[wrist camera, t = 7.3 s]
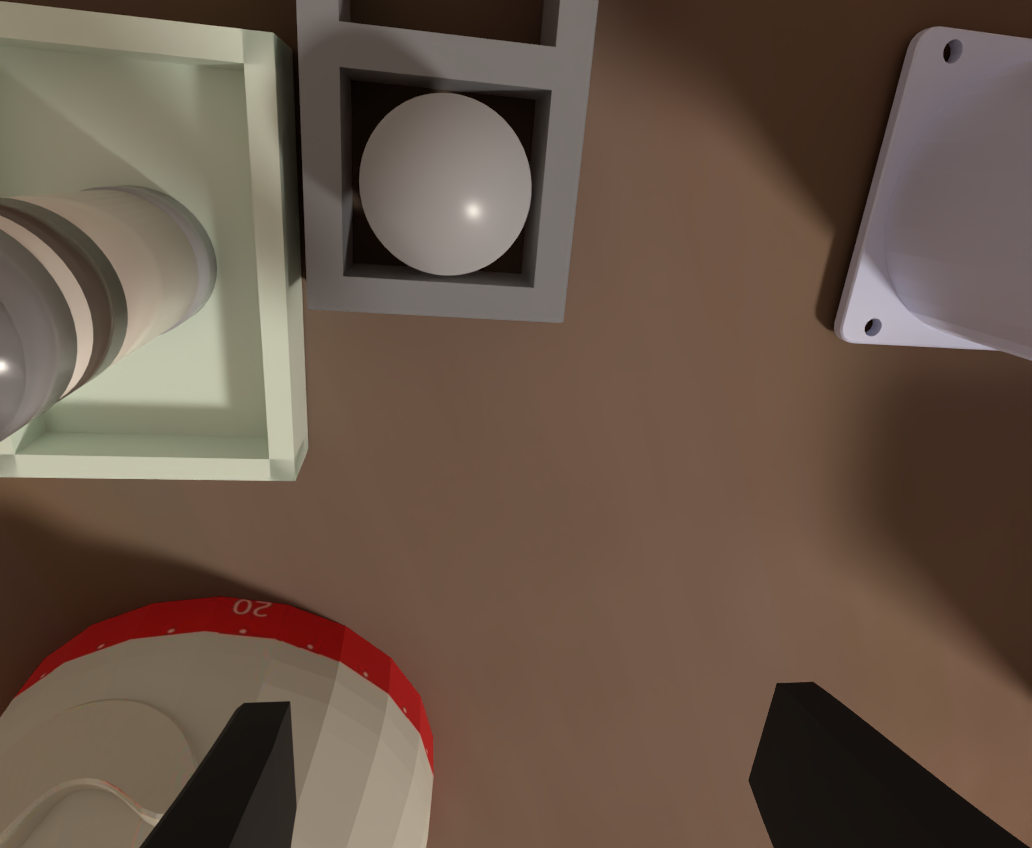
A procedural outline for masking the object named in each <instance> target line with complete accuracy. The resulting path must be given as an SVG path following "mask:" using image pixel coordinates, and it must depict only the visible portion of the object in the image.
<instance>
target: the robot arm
mask: <svg viewBox="0 0 1032 848" xmlns="http://www.w3.org/2000/svg"><path fill="white" fill-rule="evenodd" d="M946 44H949V46H950V48H951V55H950V57H949V59H948V61H947V62H945V60H944V58H943V50H944V48H945V46H946ZM871 319H872V320H873V325H872V327H871V329H870V330H869V331H867V332H865V325H866V324H867V322H868V321H870V320H871ZM834 331H835V334H836V336H837V337H838V338H840V339H841V340H844V341H846V342H850V343H861V344H881V345H900V346H919V347H939V348H958V349H978V350H997V351H1003V352H1006V353H1009V354H1012V355H1015V356H1019V357H1022V358H1025V359H1028V360H1031V361H1032V39H1029V38H1022V37H1015V36H1007V35H1000V34H993V33H986V32H978V31H971V30H964V29H956V28H949V27H942V26H938V27H931V28H928V29H924V30H922V31H921V32H919V33H917V34H916V35H915V37H914V38H913V39H912V40H911V42H910V44H909V46H908V49H907V52H906V56H905V60H904V64H903V67H902V71H901V75H900V79H899V82H898V86H897V90H896V94H895V97H894V101H893V105H892V109H891V112H890V116H889V120H888V124H887V127H886V131H885V135H884V139H883V143H882V146H881V150H880V154H879V158H878V161H877V165H876V169H875V173H874V176H873V180H872V184H871V188H870V191H869V195H868V199H867V203H866V206H865V210H864V214H863V218H862V221H861V225H860V229H859V233H858V236H857V240H856V244H855V248H854V251H853V255H852V259H851V263H850V266H849V270H848V274H847V278H846V281H845V285H844V289H843V293H842V297H841V300H840V304H839V308H838V312H837V315H836V319H835V323H834ZM749 783H750V786H751V789H752V791H753V794H754V797H755V800H756V803H757V805H758V808H759V811H760V814H761V816H762V819H763V822H764V824H765V827H766V829H767V832H768V834H769V837H770V839H771V842H772V844H773V847H774V848H1030V847H1028V846H1027V845H1026V844H1024V843H1023V842H1021V841H1020V840H1019V839H1017V838H1016V837H1014V836H1013V835H1012V834H1010V833H1009V832H1008V831H1006V830H1005V829H1003V828H1002V827H1001V826H999V825H998V824H997V823H995V822H994V821H993V820H991V819H990V818H989V817H987V816H986V815H985V814H983V813H982V812H981V811H979V810H978V809H977V808H975V807H974V806H973V805H972V804H970V803H969V802H968V801H966V800H965V799H964V798H962V797H961V796H960V795H958V794H957V793H956V792H955V791H953V790H952V789H951V788H949V787H948V786H947V785H945V784H944V783H943V782H942V781H940V780H939V779H938V778H936V777H935V776H934V775H933V774H931V773H930V772H929V771H927V770H926V769H925V768H924V767H922V766H921V765H920V764H919V763H917V762H916V761H915V760H913V759H912V758H911V757H910V756H908V755H907V754H906V753H905V752H903V751H902V750H901V749H900V748H898V747H897V746H896V745H894V744H893V743H892V742H891V741H889V740H888V739H887V738H886V737H884V736H883V735H882V734H881V733H879V732H878V731H877V730H876V729H874V728H873V727H872V726H870V725H869V724H868V723H867V722H865V721H864V720H863V719H862V718H860V717H859V716H858V715H856V714H855V713H854V712H853V711H851V710H850V709H849V708H848V707H846V706H845V705H844V704H842V703H841V702H840V701H838V700H837V699H836V698H834V697H833V696H832V695H831V694H829V693H828V692H826V691H825V690H824V689H822V688H821V687H820V686H818V685H817V684H815V683H814V682H799V683H777V685H776V688H775V692H774V695H773V698H772V702H771V705H770V709H769V712H768V715H767V719H766V722H765V726H764V729H763V732H762V736H761V739H760V743H759V746H758V749H757V753H756V756H755V760H754V763H753V766H752V770H751V773H750V777H749ZM296 810H297V803H296V787H295V770H294V754H293V737H292V721H291V704H290V701H279V702H252V703H243V704H242V705H241V706H239V707H238V708H237V709H236V710H235V711H234V713H233V715H232V716H231V718H230V719H229V721H228V723H227V724H226V726H225V727H224V729H223V730H222V732H221V733H220V735H219V736H218V738H217V739H216V741H215V743H214V744H213V746H212V747H211V749H210V750H209V752H208V753H207V755H206V756H205V757H204V759H203V760H202V762H201V763H200V765H199V766H198V768H197V769H196V771H195V772H194V773H193V775H192V776H191V778H190V779H189V780H188V782H187V783H186V785H185V786H184V788H183V789H182V790H181V792H180V793H179V795H178V796H177V797H176V799H175V800H174V802H173V803H172V804H171V806H170V807H169V808H168V810H167V811H166V812H165V814H164V815H163V816H162V818H161V819H160V820H159V822H158V823H157V824H156V826H155V827H154V828H153V830H152V831H151V833H150V834H149V835H148V837H147V838H146V839H145V841H144V842H143V843H142V845H141V846H140V847H139V848H291V843H292V836H293V829H294V823H295V816H296Z"/></svg>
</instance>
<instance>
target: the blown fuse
mask: <svg viewBox="0 0 1032 848" xmlns="http://www.w3.org/2000/svg"><path fill="white" fill-rule="evenodd" d="M216 278H217V261H216V255H215V251H214V248H213V245H212V242H211V240H210V238H209V236H208V234H207V232H206V230H205V229H204V227H203V226H202V224H201V223H200V222H199V220H198V219H197V218H196V217H195V215H194V214H192V213H191V212H190V211H189V210H188V209H187V208H186V207H185V206H184V205H182V204H181V203H180V202H178V201H177V200H175V199H173V198H172V197H170V196H168V195H166V194H164V193H162V192H160V191H157V190H154V189H151V188H146V187H142V186H132V185H125V186H109V187H95V188H90V189H84V190H81V191H77V192H64V193H52V194H39V195H26V196H14V197H0V442H1V441H2V440H4V439H6V438H7V437H9V436H10V435H12V434H13V433H15V432H16V431H18V430H19V429H21V428H22V427H24V426H25V425H27V424H29V423H30V422H32V421H33V420H35V419H36V418H38V417H39V416H41V415H42V414H43V413H45V412H46V411H48V410H49V409H50V408H51V407H52V406H53V405H54V404H55V403H57V402H59V401H60V400H62V399H63V398H65V397H66V396H68V395H69V394H71V393H72V392H74V391H76V390H77V389H79V388H80V387H82V386H83V385H85V384H86V383H88V382H89V381H91V380H93V379H94V378H95V377H97V376H98V375H100V374H101V373H102V372H104V371H105V370H106V369H107V368H109V367H111V366H112V365H114V364H115V363H117V362H118V361H120V360H121V359H123V358H125V357H126V356H128V355H129V354H131V353H132V352H134V351H135V350H137V349H139V348H140V347H142V346H143V345H145V344H146V343H148V342H149V341H151V340H153V339H154V338H156V337H157V336H159V335H161V334H164V333H166V332H168V331H170V330H172V329H174V328H176V327H177V326H179V325H180V324H182V323H183V322H185V321H186V320H188V319H189V318H191V317H192V316H194V315H195V314H196V313H198V312H199V311H200V310H201V309H202V308H203V307H204V305H205V304H206V303H207V301H208V300H209V298H210V296H211V294H212V292H213V289H214V287H215V283H216Z"/></svg>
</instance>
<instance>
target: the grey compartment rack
mask: <svg viewBox="0 0 1032 848" xmlns="http://www.w3.org/2000/svg"><path fill="white" fill-rule="evenodd" d="M598 2H599V0H544V5H543V17H542V29H541V41H540V45H534V44H526V43H518V42H509V41H501V40H493V39H484V38H476V37H467V36H459V35H451V34H442V33H434V32H426V31H417V30H409V29H401V28H392V27H384V26H375V25H367V24H359V23H350V0H296V9H297V36H298V63H299V90H300V117H301V144H302V171H303V198H304V225H305V252H306V279H307V306H308V309H309V310H328V311H347V312H366V313H385V314H404V315H423V316H441V317H460V318H479V319H498V320H517V321H536V322H555V323H563V320H564V311H565V302H566V293H567V284H568V275H569V265H570V256H571V247H572V238H573V229H574V220H575V211H576V202H577V193H578V184H579V175H580V165H581V156H582V147H583V138H584V129H585V120H586V111H587V102H588V93H589V84H590V74H591V65H592V56H593V47H594V38H595V29H596V20H597V11H598ZM351 80H354V81H363V82H373V83H382V84H392V85H401V86H410V87H420V88H429V89H439V90H448V91H457V92H467V93H476V94H486V95H495V96H504V97H514V98H523V99H533V100H536V101H535V113H534V125H533V137H532V149H531V161H530V168H529V164H528V160H527V157H526V154H525V151H524V149H523V147H522V145H521V143H520V141H519V139H518V137H517V136H516V134H515V133H514V131H513V130H512V128H511V127H510V126H509V125H508V123H507V122H506V121H505V120H504V119H503V118H502V117H501V116H500V115H499V114H497V113H496V112H495V111H494V110H492V109H491V108H489V107H488V106H486V105H485V104H483V103H481V102H479V101H477V100H475V99H472V98H469V97H466V96H463V95H458V94H453V93H432V94H426V95H422V96H418V97H415V98H413V99H410V100H408V101H406V102H404V103H402V104H401V105H399V106H397V107H396V108H394V109H393V110H392V111H391V112H390V113H388V114H387V115H386V116H385V117H384V118H383V119H382V121H381V122H380V123H379V124H378V125H377V127H376V128H375V130H374V131H373V133H372V134H371V136H370V138H369V140H368V142H367V144H366V147H365V150H364V153H363V156H362V160H361V166H360V175H359V187H360V196H361V201H362V206H363V209H364V212H365V215H366V218H367V220H368V222H369V224H370V226H371V228H372V230H373V232H374V233H375V235H376V236H377V238H378V239H379V240H380V242H381V243H382V244H383V245H384V246H385V248H387V249H388V250H389V251H390V252H391V253H392V254H393V255H394V256H395V257H397V258H398V259H399V260H401V261H402V262H404V263H406V264H407V265H409V266H395V265H379V264H363V263H353V214H352V121H351ZM524 223H525V233H524V245H523V257H522V269H521V274H519V273H504V272H488V271H477V270H479V269H481V268H484V267H486V266H487V265H489V264H491V263H492V262H494V261H495V260H497V259H498V258H499V257H500V256H502V255H503V254H504V253H505V252H506V251H507V250H508V249H509V248H510V247H511V245H512V244H513V243H514V241H515V240H516V239H517V237H518V235H519V233H520V232H521V230H522V228H523V226H524ZM410 266H411V267H410Z"/></svg>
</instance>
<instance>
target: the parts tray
mask: <svg viewBox="0 0 1032 848" xmlns="http://www.w3.org/2000/svg"><path fill="white" fill-rule="evenodd" d="M125 185H132V186H142V187H146V188H151V189H154V190H157V191H160V192H162V193H164V194H166V195H168V196H170V197H172V198H173V199H175V200H177V201H178V202H180V203H181V204H182V205H184V206H185V207H186V208H187V209H188V210H189V211H190V212H191V213H192V214H194V215H195V217H196V218H197V219H198V220H199V222H200V223H201V224H202V226H203V227H204V229H205V230H206V232H207V234H208V236H209V238H210V240H211V242H212V245H213V248H214V251H215V255H216V261H217V278H216V283H215V287H214V289H213V292H212V294H211V296H210V298H209V300H208V301H207V303H206V304H205V305H204V307H203V308H202V309H201V310H200V311H199V312H198V313H196V314H195V315H194V316H192V317H191V318H189V319H188V320H186V321H185V322H183V323H182V324H180V325H179V326H177V327H176V328H174V329H172V330H170V331H168V332H166V333H164V334H161V335H159V336H157V337H156V338H154V339H153V340H151V341H149V342H148V343H146V344H145V345H143V346H142V347H140V348H139V349H137V350H135V351H134V352H132V353H131V354H129V355H128V356H126V357H125V358H123V359H121V360H120V361H118V362H117V363H115V364H114V365H112V366H111V367H109V368H107V369H106V370H105V371H104V372H102V373H101V374H100V375H98V376H97V377H95V378H94V379H93V380H91V381H89V382H88V383H86V384H85V385H83V386H82V387H80V388H79V389H77V390H76V391H74V392H72V393H71V394H69V395H68V396H66V397H65V398H63V399H62V400H60V401H59V402H57V403H55V404H54V405H53V406H52V407H51V408H50V409H49V410H48V411H46V412H45V413H43V414H42V415H41V416H39V417H38V418H36V419H35V420H33V421H32V422H30V423H29V424H27V425H25V426H24V427H22V428H21V429H19V430H18V431H16V432H15V433H13V434H12V435H10V436H9V437H7V438H6V439H4V440H2V441H1V442H0V477H39V478H113V479H187V480H261V481H295V480H296V478H297V475H298V473H299V471H300V468H301V466H302V463H303V461H304V458H305V456H306V454H307V451H308V429H307V404H306V379H305V354H304V329H303V304H302V279H301V253H300V228H299V203H298V178H297V153H296V128H295V103H294V78H293V53H292V49H291V48H290V47H289V46H288V45H287V44H286V43H285V42H283V41H282V40H281V39H280V38H279V37H278V36H277V35H275V34H274V33H273V32H264V31H255V30H247V29H238V28H229V27H221V26H212V25H203V24H195V23H186V22H177V21H169V20H160V19H151V18H142V17H134V16H125V15H116V14H108V13H99V12H90V11H82V10H73V9H64V8H56V7H47V6H38V5H30V4H21V3H12V2H4V1H0V197H14V196H26V195H39V194H52V193H64V192H77V191H81V190H84V189H90V188H95V187H109V186H125Z"/></svg>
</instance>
